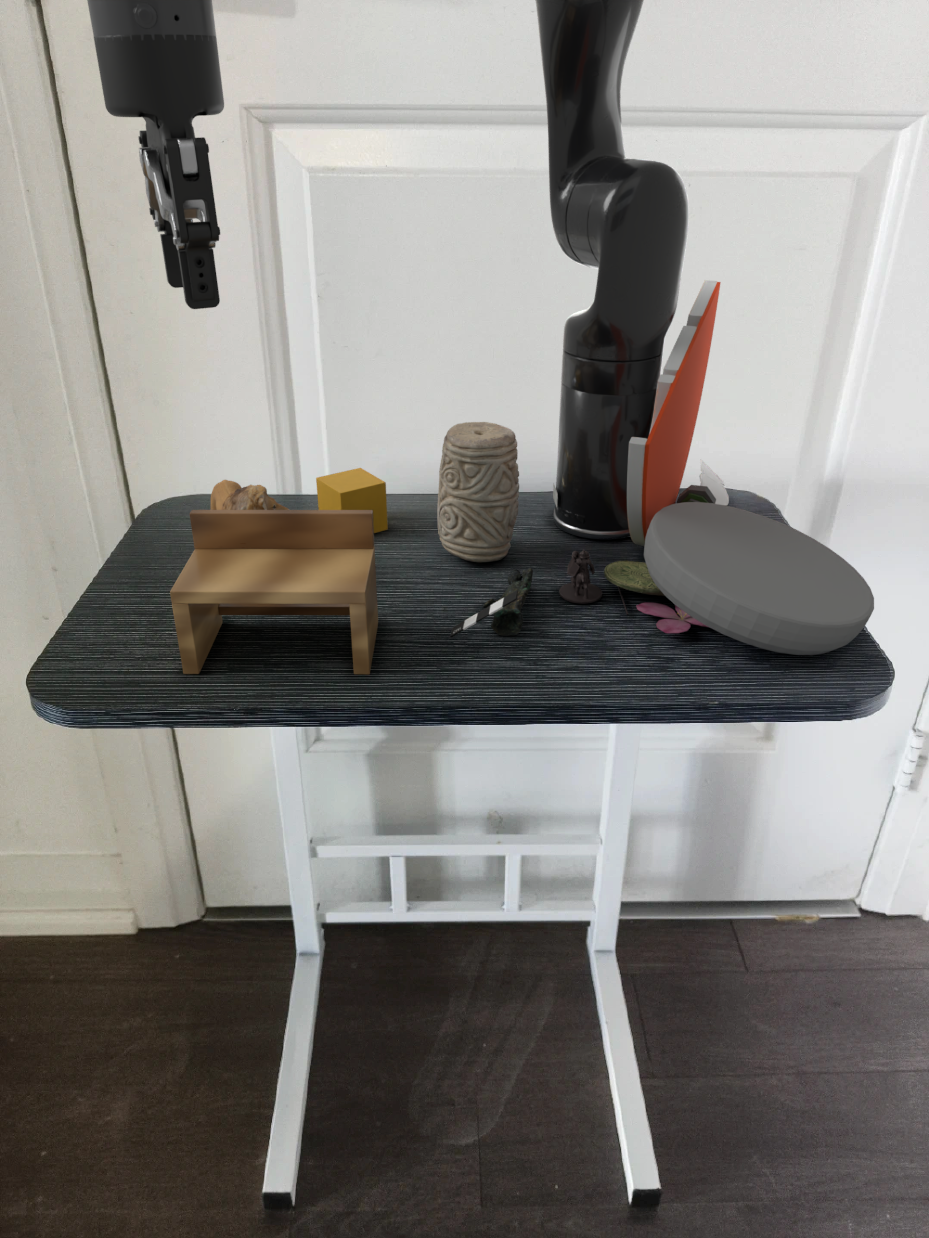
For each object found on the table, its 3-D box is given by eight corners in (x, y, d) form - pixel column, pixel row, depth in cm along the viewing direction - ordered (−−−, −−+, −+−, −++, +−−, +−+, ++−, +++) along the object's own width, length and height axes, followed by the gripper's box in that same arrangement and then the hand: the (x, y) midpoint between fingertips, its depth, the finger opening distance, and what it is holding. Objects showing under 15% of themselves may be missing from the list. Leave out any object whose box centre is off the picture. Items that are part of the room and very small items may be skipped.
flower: (652, 596, 84) (652, 586, 84) (743, 615, 81) (744, 605, 80) (617, 629, 78) (618, 619, 78) (715, 651, 74) (716, 640, 74)
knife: (725, 495, 108) (686, 472, 108) (746, 464, 106) (706, 441, 106) (698, 576, 89) (651, 549, 90) (723, 541, 87) (674, 513, 87)
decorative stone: (630, 484, 83) (611, 534, 86) (684, 599, 68) (659, 656, 70) (823, 524, 86) (799, 571, 89) (916, 643, 71) (884, 695, 74)
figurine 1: (450, 636, 75) (470, 560, 85) (481, 672, 76) (497, 592, 86) (515, 598, 72) (528, 524, 82) (546, 636, 74) (555, 558, 84)
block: (362, 513, 100) (360, 467, 97) (387, 529, 96) (385, 482, 93) (319, 524, 97) (315, 477, 95) (343, 541, 93) (340, 493, 91)
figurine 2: (614, 572, 87) (618, 531, 85) (629, 615, 80) (633, 571, 78) (554, 572, 87) (556, 531, 85) (563, 615, 80) (566, 571, 78)
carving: (525, 564, 89) (529, 438, 83) (445, 571, 87) (443, 444, 81) (508, 536, 94) (511, 416, 88) (432, 543, 93) (430, 421, 87)
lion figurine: (300, 582, 86) (292, 487, 81) (244, 597, 83) (232, 500, 79) (237, 527, 96) (227, 440, 92) (186, 539, 94) (172, 450, 90)
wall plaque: (705, 277, 94) (628, 442, 74) (721, 279, 94) (648, 445, 74) (684, 439, 107) (615, 616, 87) (699, 441, 107) (632, 620, 87)
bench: (183, 674, 72) (163, 553, 68) (208, 622, 79) (191, 509, 75) (369, 674, 72) (363, 553, 68) (378, 622, 79) (372, 509, 75)
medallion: (634, 598, 79) (636, 589, 79) (586, 566, 86) (588, 558, 85) (713, 596, 82) (715, 588, 82) (661, 565, 89) (663, 558, 89)
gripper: (236, 26, 57) (267, 311, 65) (196, 35, 68) (226, 276, 76) (102, 26, 54) (152, 321, 62) (84, 35, 66) (127, 284, 73)
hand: (193, 296), depth 69 cm, fingers open, 8 cm apart
